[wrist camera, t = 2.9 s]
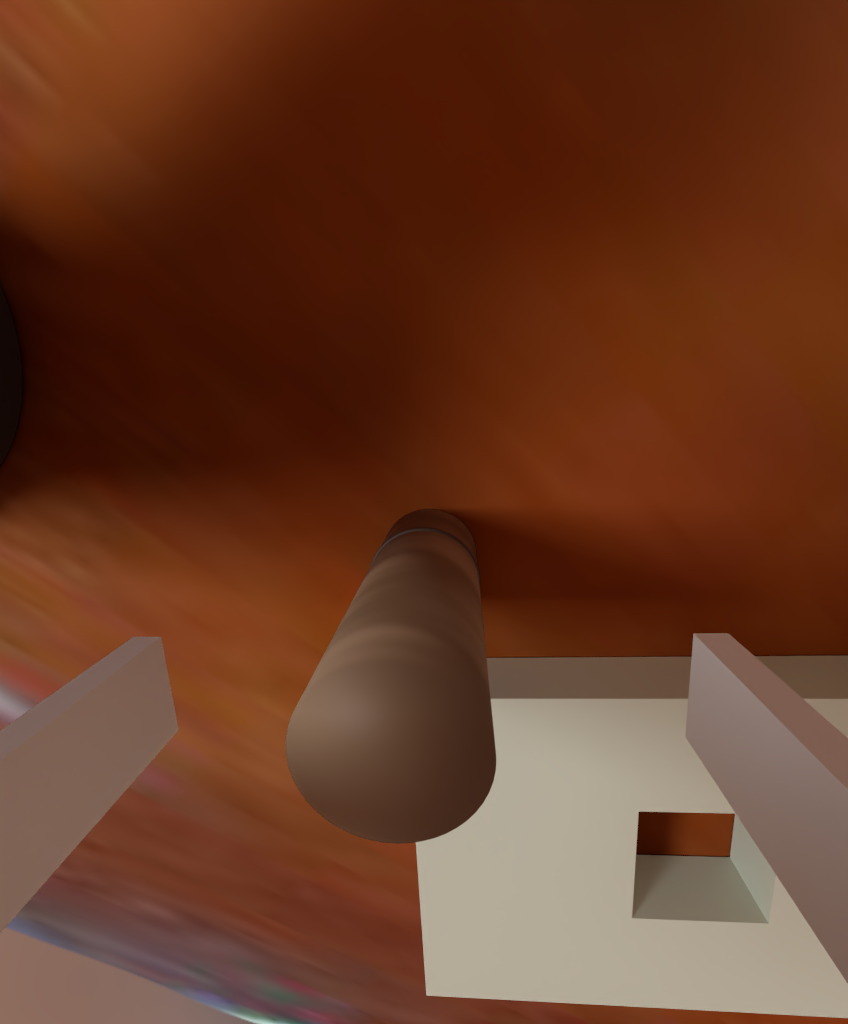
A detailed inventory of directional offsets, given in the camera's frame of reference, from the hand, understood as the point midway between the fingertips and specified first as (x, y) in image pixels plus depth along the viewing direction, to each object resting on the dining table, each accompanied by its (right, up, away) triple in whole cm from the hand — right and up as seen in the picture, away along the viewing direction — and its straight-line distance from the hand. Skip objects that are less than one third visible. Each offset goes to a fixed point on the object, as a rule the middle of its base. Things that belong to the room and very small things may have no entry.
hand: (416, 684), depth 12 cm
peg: (0, +2, +9) cm, 9 cm away
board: (+10, -10, +11) cm, 18 cm away
